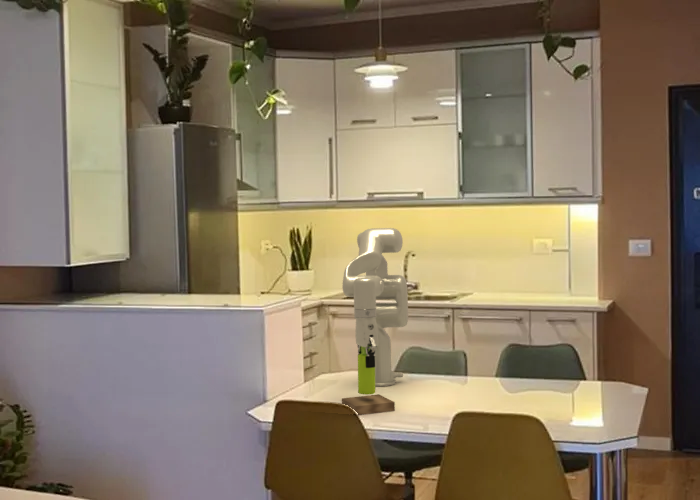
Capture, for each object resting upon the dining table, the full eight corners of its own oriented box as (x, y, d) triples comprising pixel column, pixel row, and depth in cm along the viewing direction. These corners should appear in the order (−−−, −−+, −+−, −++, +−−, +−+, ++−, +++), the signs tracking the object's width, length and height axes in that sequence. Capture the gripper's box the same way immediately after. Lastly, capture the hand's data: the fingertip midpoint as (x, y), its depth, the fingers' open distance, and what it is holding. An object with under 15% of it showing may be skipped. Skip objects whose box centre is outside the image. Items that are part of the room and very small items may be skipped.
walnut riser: (379, 402, 318) (378, 394, 317) (394, 410, 305) (394, 402, 304) (341, 406, 313) (341, 398, 313) (356, 415, 300) (356, 406, 299)
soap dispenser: (364, 396, 304) (364, 337, 302) (355, 391, 310) (354, 334, 308) (379, 393, 307) (379, 336, 305) (370, 389, 313) (369, 333, 311)
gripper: (385, 315, 300) (386, 369, 301) (366, 310, 316) (367, 361, 317) (364, 317, 298) (365, 371, 298) (346, 312, 314) (347, 363, 315)
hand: (366, 365), depth 308 cm, fingers closed on soap dispenser, 6 cm apart
